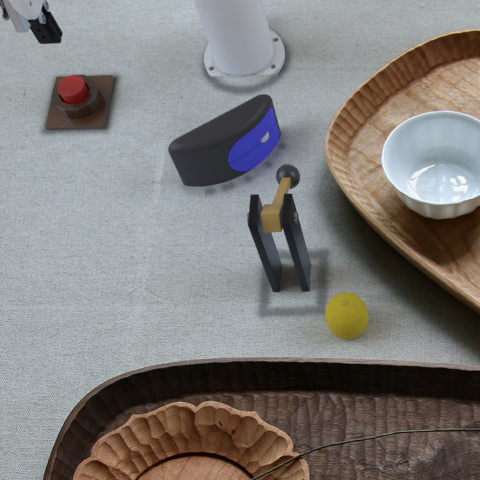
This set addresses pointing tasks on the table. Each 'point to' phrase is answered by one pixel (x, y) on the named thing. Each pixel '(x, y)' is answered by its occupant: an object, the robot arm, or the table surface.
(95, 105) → the button base
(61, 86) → the button
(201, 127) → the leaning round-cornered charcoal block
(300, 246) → the bracket
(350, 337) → the lemon
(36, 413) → the table surface
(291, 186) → the switch lever
